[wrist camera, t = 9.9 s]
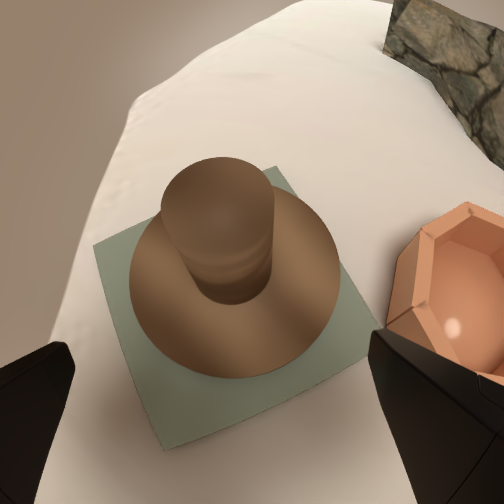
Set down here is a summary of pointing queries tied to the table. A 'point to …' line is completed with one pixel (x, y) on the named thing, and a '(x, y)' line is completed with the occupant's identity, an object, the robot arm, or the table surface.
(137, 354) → the rubber mat
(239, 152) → the table surface
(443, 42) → the stone wall
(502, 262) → the terracotta bowl
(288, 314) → the walnut lid
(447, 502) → the robot arm
